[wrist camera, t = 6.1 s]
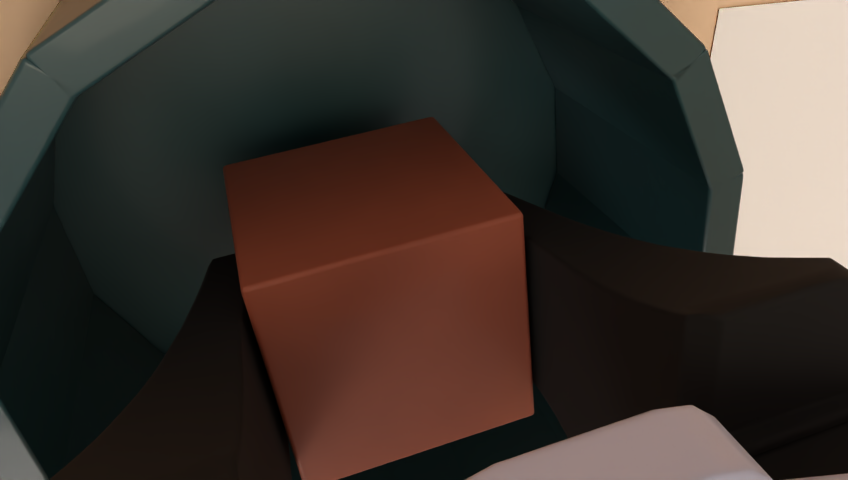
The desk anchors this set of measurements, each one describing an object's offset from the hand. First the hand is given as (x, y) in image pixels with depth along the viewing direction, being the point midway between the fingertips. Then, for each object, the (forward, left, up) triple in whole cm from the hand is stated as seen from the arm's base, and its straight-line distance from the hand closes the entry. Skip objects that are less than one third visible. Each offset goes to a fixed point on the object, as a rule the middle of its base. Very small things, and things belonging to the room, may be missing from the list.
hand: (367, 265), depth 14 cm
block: (0, 0, -1) cm, 1 cm away
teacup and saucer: (+19, -9, -4) cm, 22 cm away
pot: (0, 0, -4) cm, 4 cm away
